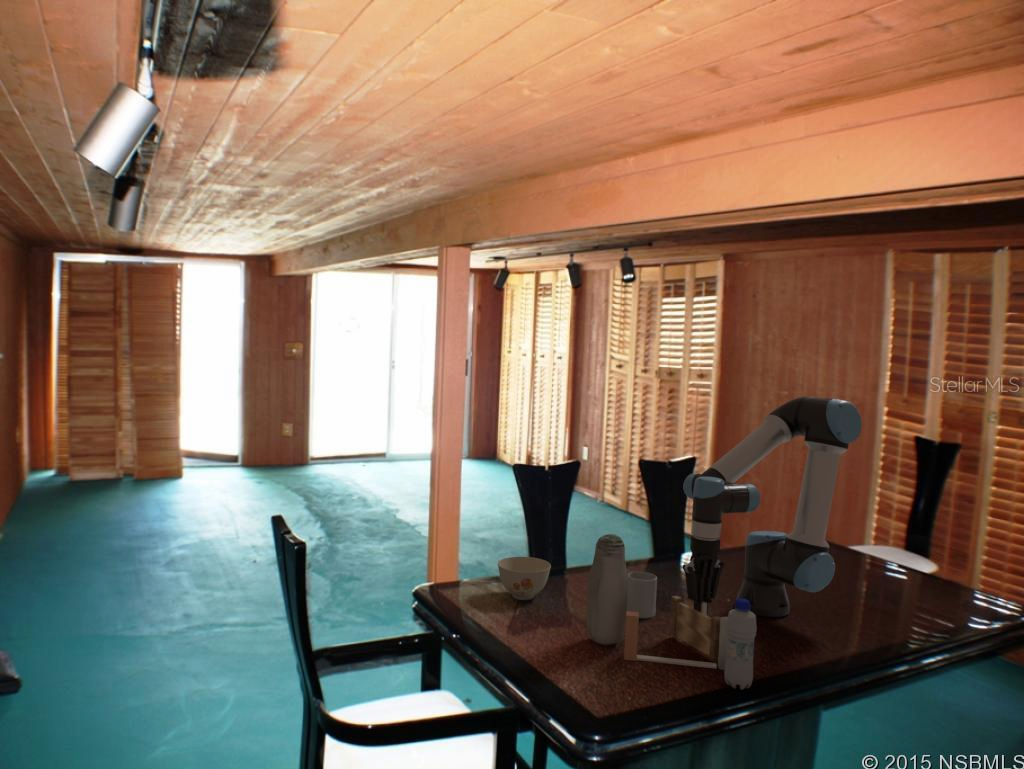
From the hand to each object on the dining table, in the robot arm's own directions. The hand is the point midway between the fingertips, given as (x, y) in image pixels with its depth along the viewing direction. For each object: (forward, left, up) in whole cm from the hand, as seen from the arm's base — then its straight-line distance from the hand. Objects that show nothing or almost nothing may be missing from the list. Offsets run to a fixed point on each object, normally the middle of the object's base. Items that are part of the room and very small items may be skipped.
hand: (699, 626), depth 197 cm
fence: (+6, +15, -4) cm, 17 cm away
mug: (+16, -19, -5) cm, 25 cm away
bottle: (-7, +24, -5) cm, 25 cm away
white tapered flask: (+24, +7, -5) cm, 25 cm away
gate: (+2, +5, -3) cm, 6 cm away
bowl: (+50, -22, -5) cm, 55 cm away
